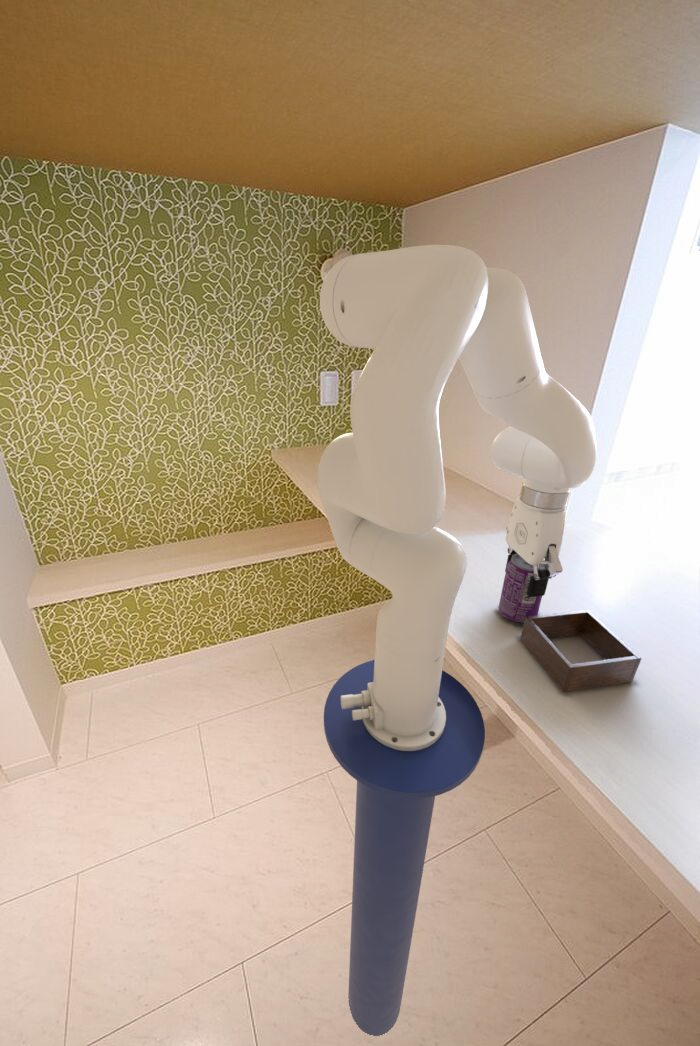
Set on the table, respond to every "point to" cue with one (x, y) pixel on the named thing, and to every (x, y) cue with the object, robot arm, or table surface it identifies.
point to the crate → (615, 652)
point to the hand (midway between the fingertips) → (523, 582)
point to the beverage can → (518, 591)
